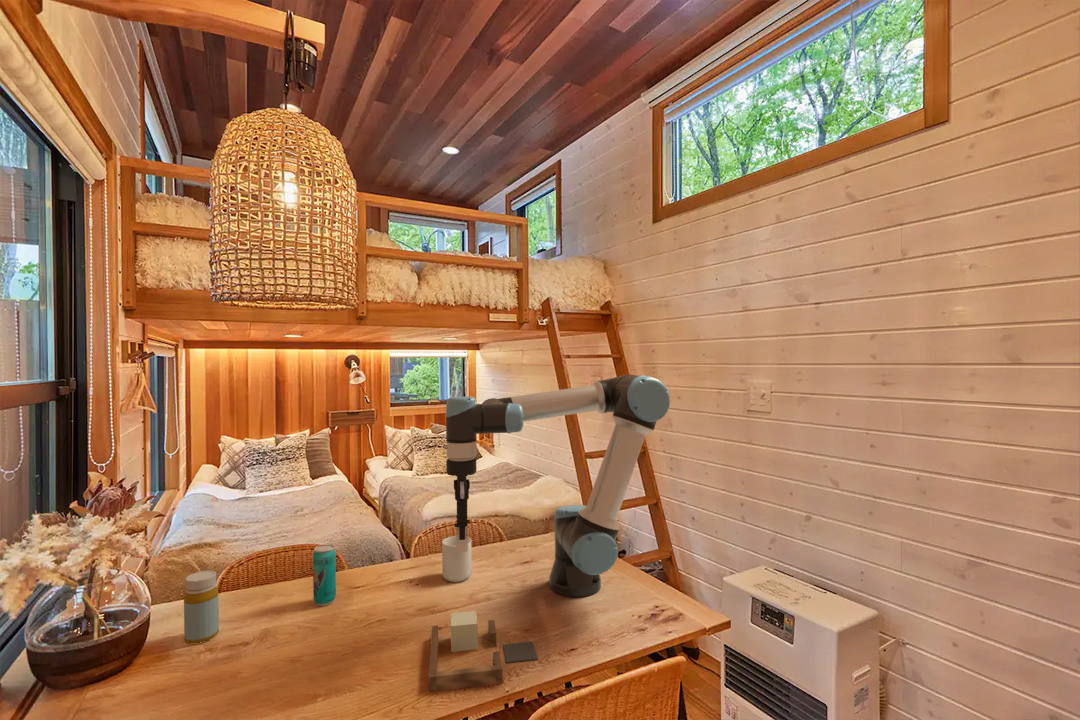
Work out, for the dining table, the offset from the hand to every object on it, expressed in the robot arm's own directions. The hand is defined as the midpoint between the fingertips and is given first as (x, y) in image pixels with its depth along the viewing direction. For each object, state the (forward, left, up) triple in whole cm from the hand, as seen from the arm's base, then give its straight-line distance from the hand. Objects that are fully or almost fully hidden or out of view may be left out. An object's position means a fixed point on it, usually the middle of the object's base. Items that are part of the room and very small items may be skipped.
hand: (462, 550), depth 131 cm
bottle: (+62, -5, -19) cm, 65 cm away
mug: (+1, -29, -19) cm, 34 cm away
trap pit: (-13, +16, -18) cm, 27 cm away
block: (0, +9, -19) cm, 21 cm away
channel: (0, +16, -18) cm, 24 cm away
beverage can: (+37, -18, -19) cm, 45 cm away
